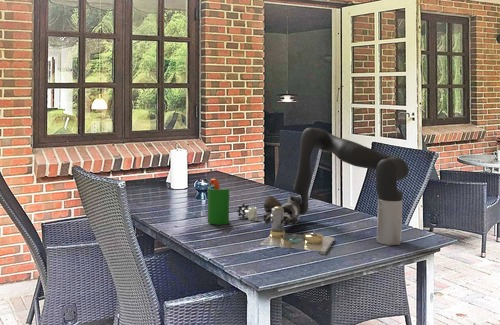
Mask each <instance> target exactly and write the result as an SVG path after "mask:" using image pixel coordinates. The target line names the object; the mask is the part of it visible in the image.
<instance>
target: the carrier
mask: <svg viewBox="0 0 500 325" xmlns="http://www.w3.org/2000/svg"><path fill="white" fill-rule="evenodd" d="M333 241H335V237H331V236H324V235H323V234H322V233H320V232H315V231H314V232H307V233H304V234H301V233H299V234H297V233H290V232H289V233H288V232H285V236H284V237H283V235H280V238H276V237H271V236H270V235H268V237H266V238H264V239H263V241H262V242H260V243H259V246H267V247H268V246H269V247H276V248H277V247H278V248H285V249H286V248H288V249H296V250H305V251H307V250H308V251H315V252H316V251H318V252H317V255H326V253H327V252H328V250H329V249H330V247H331V246H332V245H333V243H334V242H333Z"/></svg>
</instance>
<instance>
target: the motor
mask: <svg viewBox="0 0 500 325" xmlns="http://www.w3.org/2000/svg"><path fill="white" fill-rule="evenodd" d="M210 185H212V186H208V187H207V223H208V224H210V225H216V226H218V225H227V224H230V188H224V189H221V188H220V183H219V180H218V179H217V178H211V179H210Z"/></svg>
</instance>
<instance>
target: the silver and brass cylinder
mask: <svg viewBox="0 0 500 325" xmlns="http://www.w3.org/2000/svg"><path fill="white" fill-rule="evenodd" d="M271 214H272V222H271V229H270V230H269V231H270V232H269V233H270V234H269V236H271V237H276V238H280V235H283V237H284V236H285V233H286V230H285V228H284V226H285V224H284V208H282V207H279V206H276V207H274V208H272V211H271Z"/></svg>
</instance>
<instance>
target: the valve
mask: <svg viewBox="0 0 500 325" xmlns="http://www.w3.org/2000/svg"><path fill="white" fill-rule="evenodd" d="M237 208H238V209H236V213H237V216H238V217H241V218H243V219H244V218H245V217H248V219H247V221H254V222H255V221H256V222H257V221H258V220H257V219H258V218H257V217H258V213H257V210H258V208H257V207H256V206H250V207H249V204H246V205H245V203H241V205H238V206H237Z"/></svg>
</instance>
